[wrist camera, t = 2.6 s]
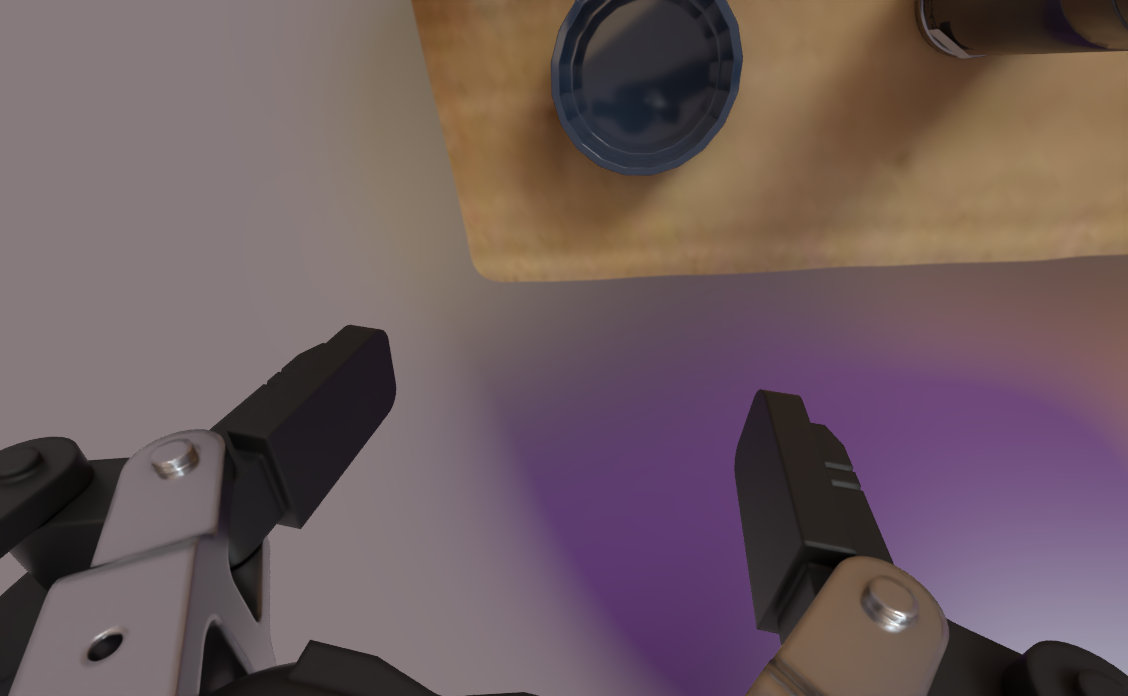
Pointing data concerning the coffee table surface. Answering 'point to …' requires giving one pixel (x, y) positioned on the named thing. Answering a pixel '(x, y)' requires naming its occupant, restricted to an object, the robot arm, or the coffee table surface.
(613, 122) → the bowl
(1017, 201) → the coffee table surface
